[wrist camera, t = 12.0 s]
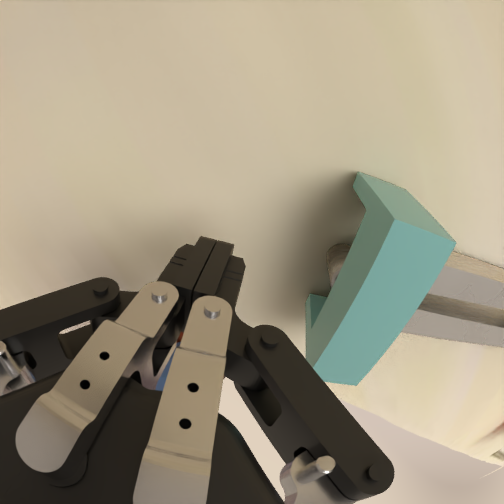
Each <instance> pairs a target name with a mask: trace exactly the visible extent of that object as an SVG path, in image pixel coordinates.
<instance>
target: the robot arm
mask: <svg viewBox="0 0 504 504" xmlns="http://www.w3.org/2000/svg"><path fill="white" fill-rule="evenodd" d="M233 249H234V244H230V243H226V242H223V241H219V240H218V241H217V240H214V239H211V238H207V237H203V236H201V237H200V238H199V240H198V241H197V243H196V245H195V246H193V245H189V244H186V245H184V246H182V247H180V248H179V249H178V250H177V251H176V253H175V254H174V256H173V257H172V259H171V260H170V263H168V265H167V266H166V268H165V269H164V271H163V272H162V274H161V275H160V277H159V278H158V280H157V281H155V282H151V283H148V284H146V285H145V286H144V287H143V288H142V289H141V290H140V291H139V292H128V291H119V286H118V284H117V283H116V282H115V281H114V280H112V279H110V278H105V277H100V278H95V279H92V280H89V281H86V282H82V283H79V284H76V285H73V286H70V287H67V288H64V289H61V290H58V291H55V292H52V293H49V294H46V295H43V296H40V297H37V298H34V299H31V300H28V301H25V302H22V303H19V304H16V305H13V306H10V307H7V308H5V309H2V310H0V504H353V503H355V502H356V501H360V500H363V499H365V498H369V497H371V496H375V495H377V494H380V493H382V492H384V491H385V490H387V489H388V488H389V487H390V485H391V483H392V482H393V479H394V467H393V465H392V463H391V461H390V460H389V459H388V457H387V456H386V455H385V454H384V453H383V452H382V450H381V449H380V448H379V447H378V446H377V445H376V444H375V443H374V441H373V440H372V439H371V438H370V437H369V435H368V434H367V433H366V432H365V431H364V429H363V428H362V427H361V426H360V425H359V423H358V422H357V421H356V420H355V419H354V417H353V416H352V415H351V414H350V413H349V412H348V410H347V409H346V408H345V407H344V405H343V404H342V403H341V402H340V401H339V399H338V398H337V397H336V396H335V395H334V393H333V392H332V391H331V390H330V389H329V387H328V386H327V385H326V384H325V382H324V381H323V380H322V379H321V378H320V376H319V375H318V374H317V373H316V371H315V370H314V369H313V368H312V366H311V365H310V364H309V363H308V361H307V360H306V359H305V358H304V356H303V355H302V354H301V353H300V351H299V350H298V349H297V348H296V346H295V345H294V344H293V343H292V341H291V340H290V339H289V338H288V336H287V335H286V334H285V333H284V332H283V331H282V330H280V329H279V328H277V327H274V326H271V325H260V326H256V327H255V328H252V327H250V326H248V325H247V324H245V323H244V322H242V321H241V320H240V319H239V318H238V316H237V315H236V312H235V306H236V302H237V299H238V295H239V291H240V287H241V283H242V279H243V275H244V271H245V267H246V266H245V263H244V261H243V258H239V257H235V256H232V254H233ZM89 320H90V323H91V324H90V325H87V326H84V327H81V328H79V329H76V330H73V331H70V332H68V333H65V334H59V332H61V331H62V330H64V329H67V328H69V327H72V326H75V325H78V324H80V323H83V322H86V321H89ZM181 332H183V333H184V334H183V337H182V340H181V343H180V346H177V348H176V344H177V339H178V337H179V335H180V333H181ZM175 348H176V350H175ZM174 350H175V353H174V356H173V359H172V362H171V365H170V369H169V372H168V375H167V379H166V382H165V386H164V389H163V391H159V390H155V389H156V385H157V382H158V380H159V378H160V376H161V374H162V372H163V370H164V369H165V367H166V365H167V363H168V361H169V359H170V357H171V355H172V353H173V352H174ZM224 376H225V377H227V378H229V379H231V380H232V381H234V385H235V388H236V389H237V391H238V393H239V394H240V396H241V397H242V399H243V401H244V402H245V404H246V405H247V407H248V408H249V410H250V412H251V413H252V415H253V416H254V418H255V419H256V421H257V422H258V424H259V425H260V427H261V429H262V430H263V432H264V433H265V434H266V436H267V437H268V439H269V440H270V442H271V443H272V445H273V446H274V448H275V449H276V450H277V452H278V453H279V455H280V456H281V458H282V459H283V460H284V462H285V463H286V465H285V466H284V467H283V469H282V471H281V473H280V483H281V485H282V487H283V489H284V492H285V501H284V502H283V500H282V499H281V497H280V496H279V494H278V493H277V491H276V490H275V488H274V487H273V485H272V484H271V482H270V481H269V479H268V478H267V476H266V474H265V473H264V471H263V470H262V468H261V466H260V465H259V464H258V462H257V460H256V458H255V457H254V455H253V453H252V452H251V450H250V448H249V447H248V445H247V443H246V442H245V440H244V438H243V437H242V435H241V433H240V432H239V431H238V430H237V428H236V427H235V426H234V425H233V424H232V423H231V422H230V421H229V420H228V419H226V418H225V417H224V416H222V415H221V414H219V413H218V410H219V403H220V397H221V390H222V383H223V377H224Z"/></svg>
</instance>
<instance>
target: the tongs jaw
mask: <svg viewBox="0 0 504 504" xmlns="http://www.w3.org/2000/svg"><path fill="white" fill-rule="evenodd" d="M428 293H429V294H433V295H438V296H443V297H448V298H452V299H457V300H462V301H467V302H471V303H476V304H481V305H486V306H491V307H495V308H500V309H504V269H502V268H500V267H497V266H494V265H491V264H489V263H486V262H483V261H480V260H477V259H474V258H471V257H468V256H465V255H462V254H459V253H456V252H453V251H452V252H451V254H450V256H449V258H448V260H447V261H446V263H445V265H444V267H443V268H442V270H441V272H440V274H439V275H438V277H437V279H436V280H435V282H434V283H433V285H432V287H431V288H430V290H429V291H428Z"/></svg>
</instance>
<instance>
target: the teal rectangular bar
mask: <svg viewBox="0 0 504 504" xmlns="http://www.w3.org/2000/svg"><path fill="white" fill-rule="evenodd" d="M353 188H354V190H355V192H356V193H357V195H358V197H359V198H360V200H361V202H362V203H363V205H364V207H365V208H366V213H365V215H364V218H363V220H362V222H361V225H360V227H359V230H358V232H357V234H356V237H355V239H354V241H353V244H352V246H351V248H350V250H349V253H348V255H347V257H346V259H345V262H344V264H343V266H342V268H341V270H340V272H339V275H338V277H337V279H336V281H335V283H334V285H333V287H332V289H331V291H330V293H329V295H328V297H323V296H319V295H314V294H309V296H308V299H307V301H306V303H305V312H306V360H307V361H308V363H309V364H310V365H311V366H312V368H313V369H314V370H315V371H316V373H317V374H318V375H319V376H320V378H321V379H322V380H323V381H324V382H331V383H339V384H347V385H355V386H357V385H358V383H359V382H360V381H361V380H362V379H363V378H364V377H365V376H366V374H367V373H368V372H369V371H370V370H371V369H372V367H373V366H374V365H375V364H376V363H377V361H378V360H379V359H380V358H381V357H382V355H383V354H384V353H385V352H386V350H387V349H388V348H389V347H390V345H391V344H392V343H393V341H394V340H395V339H396V338H397V336H398V335H399V334H400V332H401V331H402V329H403V328H404V327H405V325H406V324H407V323H408V321H409V320H410V318H411V317H412V315H413V314H414V313H415V311H416V310H417V308H418V307H419V305H420V304H421V302H422V301H423V299H424V298H425V296H426V295H427V293H428V291H429V290H430V288H431V287H432V285H433V283H434V282H435V280H436V279H437V277H438V275H439V274H440V272H441V270H442V268H443V267H444V265H445V263H446V261H447V260H448V258H449V256H450V254H451V252H452V250H453V249H454V247H455V245H456V242H455V240H454V239H453V238H452V237H451V236H450V235H449V234H448V233H447V231H446V230H445V229H444V228H443V227H442V226H441V225H440V224H439V223H438V222H437V220H436V219H435V218H434V217H433V216H432V215H431V214H430V213H429V212H428V211H427V210H426V209H425V208H424V207H423V206H422V205H421V204H420V203H419V202H418V201H417V200H416V199H415V198H414V197H413V196H412V195H411V194H410V193H409V192H408V191H407V190H406V189H403V188H401V187H398V186H396V185H393V184H391V183H388V182H385V181H383V180H380V179H377V178H375V177H372V176H369V175H366V174H364V173H361V172H358V173H357V176H356V179H355V181H354V184H353Z"/></svg>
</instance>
